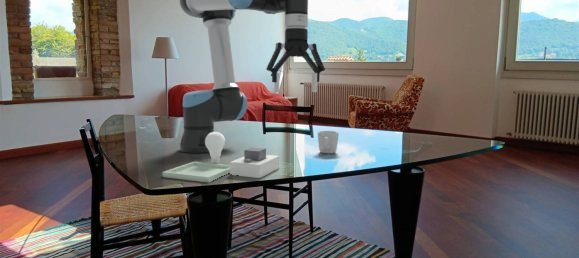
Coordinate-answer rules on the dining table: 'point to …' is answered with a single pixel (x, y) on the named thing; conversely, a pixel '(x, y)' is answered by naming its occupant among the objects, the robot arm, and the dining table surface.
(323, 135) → the cup
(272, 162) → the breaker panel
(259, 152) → the button
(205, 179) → the tray
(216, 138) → the light bulb
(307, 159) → the dining table surface
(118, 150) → the dining table surface
